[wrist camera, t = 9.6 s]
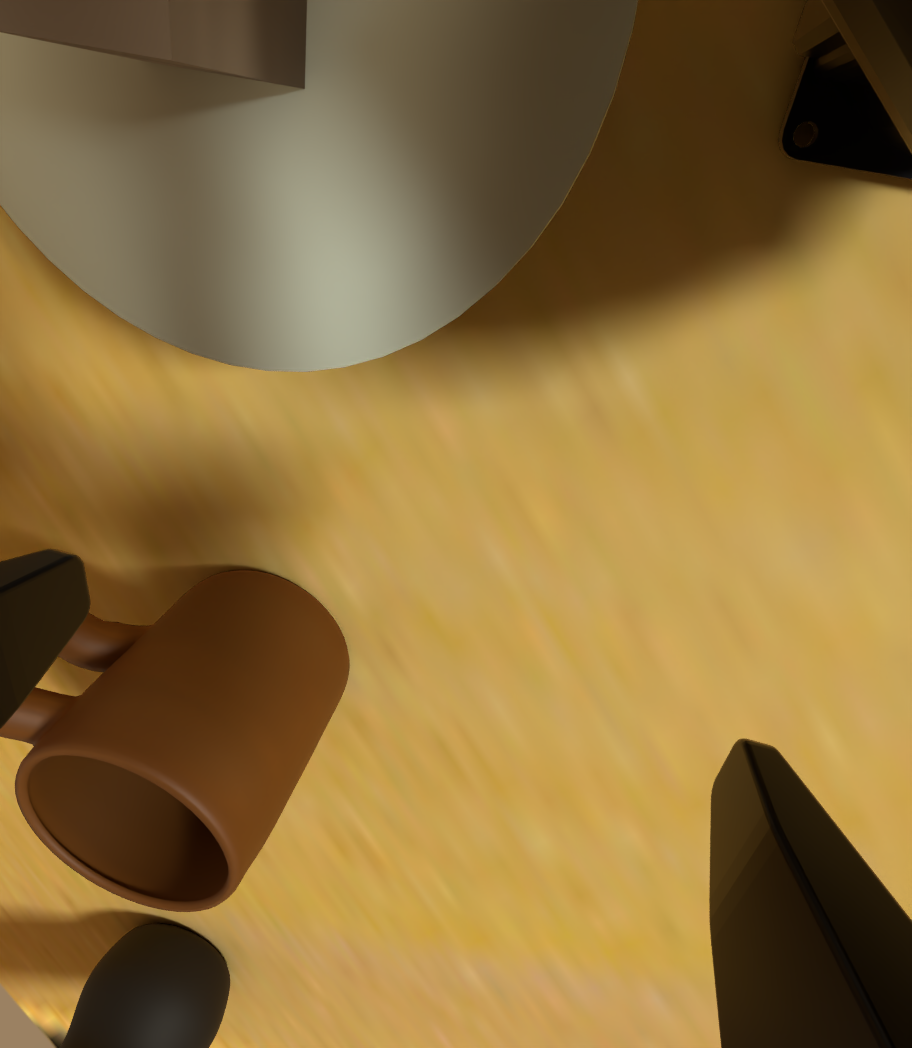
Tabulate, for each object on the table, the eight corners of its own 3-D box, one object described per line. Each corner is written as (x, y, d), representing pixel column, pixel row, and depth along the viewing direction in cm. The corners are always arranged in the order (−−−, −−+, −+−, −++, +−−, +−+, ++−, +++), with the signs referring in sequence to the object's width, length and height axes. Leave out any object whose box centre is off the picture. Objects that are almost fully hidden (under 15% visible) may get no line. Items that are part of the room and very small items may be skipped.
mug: (74, 572, 28) (-145, 738, 20) (137, 452, 24) (-103, 597, 16) (300, 733, 30) (180, 944, 22) (391, 644, 26) (287, 860, 18)
